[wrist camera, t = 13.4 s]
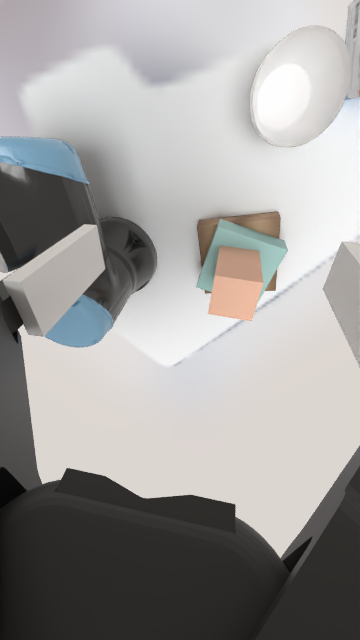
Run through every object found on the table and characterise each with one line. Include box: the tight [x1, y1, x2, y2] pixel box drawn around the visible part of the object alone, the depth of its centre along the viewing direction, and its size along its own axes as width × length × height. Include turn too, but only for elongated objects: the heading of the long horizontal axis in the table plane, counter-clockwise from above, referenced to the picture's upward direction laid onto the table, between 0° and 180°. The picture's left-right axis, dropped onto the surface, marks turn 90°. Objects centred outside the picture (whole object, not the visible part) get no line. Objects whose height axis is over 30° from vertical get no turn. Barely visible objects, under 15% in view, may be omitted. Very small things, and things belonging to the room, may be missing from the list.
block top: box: [196, 219, 288, 303], centre depth 43 cm, size 11×11×4 cm
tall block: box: [208, 245, 263, 321], centre depth 38 cm, size 6×6×10 cm
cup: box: [250, 26, 351, 147], centre depth 29 cm, size 9×9×12 cm
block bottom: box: [197, 212, 280, 293], centre depth 47 cm, size 13×13×4 cm
